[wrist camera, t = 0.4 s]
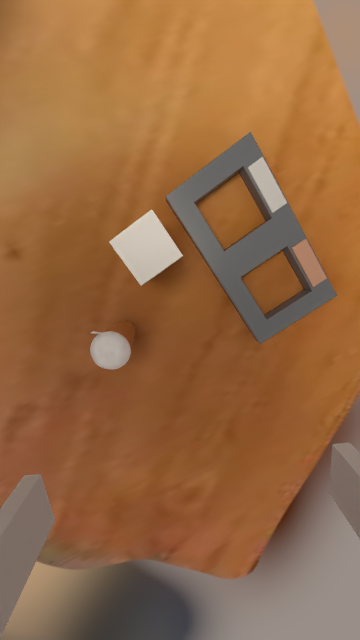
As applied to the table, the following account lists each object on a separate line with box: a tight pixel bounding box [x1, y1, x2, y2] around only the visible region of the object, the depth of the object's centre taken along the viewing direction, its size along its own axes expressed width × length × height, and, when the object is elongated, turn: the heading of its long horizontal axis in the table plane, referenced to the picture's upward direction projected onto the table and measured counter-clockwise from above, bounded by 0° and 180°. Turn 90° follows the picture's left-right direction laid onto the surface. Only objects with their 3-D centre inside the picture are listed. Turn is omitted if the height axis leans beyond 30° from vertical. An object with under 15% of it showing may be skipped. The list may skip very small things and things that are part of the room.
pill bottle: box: [90, 321, 136, 370], centre depth 30 cm, size 4×5×10 cm
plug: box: [109, 209, 183, 285], centre depth 27 cm, size 5×5×10 cm
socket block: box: [166, 132, 337, 344], centre depth 31 cm, size 23×12×2 cm, turn 35°
